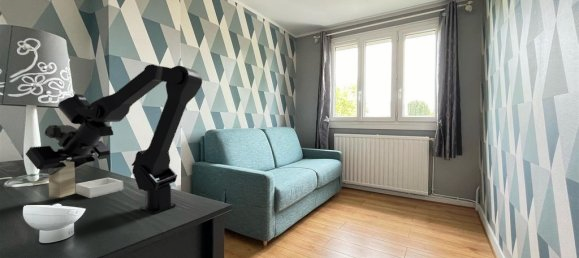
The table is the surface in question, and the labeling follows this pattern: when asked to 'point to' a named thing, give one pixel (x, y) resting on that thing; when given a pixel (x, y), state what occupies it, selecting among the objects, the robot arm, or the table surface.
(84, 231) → the table surface
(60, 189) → the birch block
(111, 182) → the tray
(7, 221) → the table surface
